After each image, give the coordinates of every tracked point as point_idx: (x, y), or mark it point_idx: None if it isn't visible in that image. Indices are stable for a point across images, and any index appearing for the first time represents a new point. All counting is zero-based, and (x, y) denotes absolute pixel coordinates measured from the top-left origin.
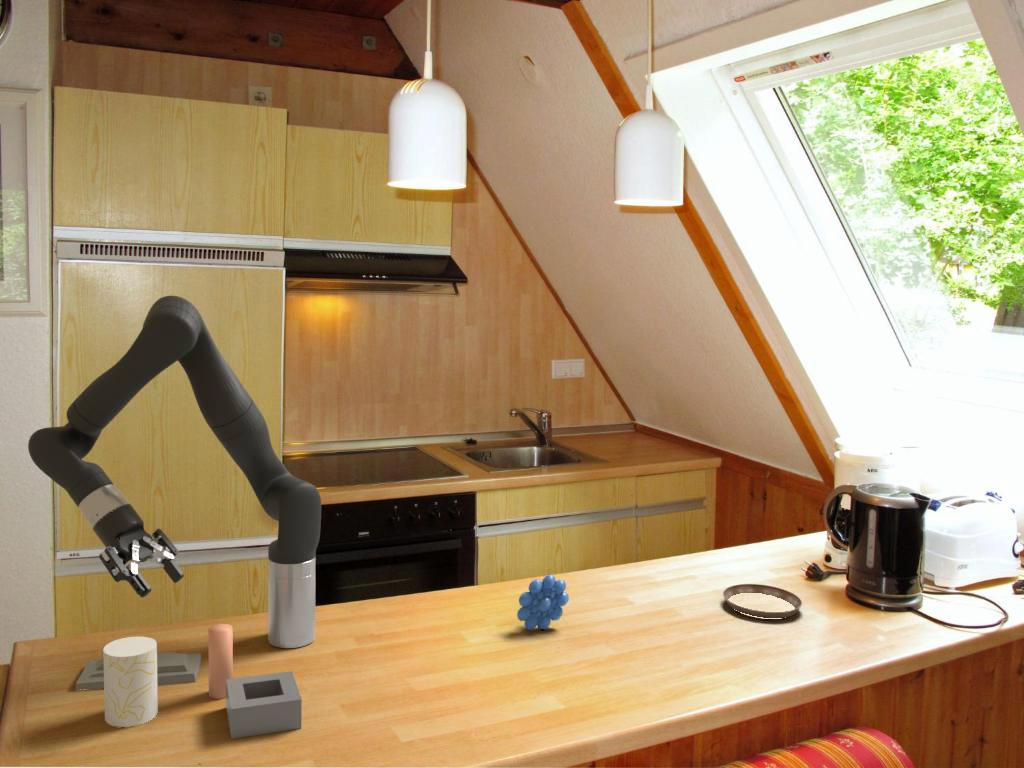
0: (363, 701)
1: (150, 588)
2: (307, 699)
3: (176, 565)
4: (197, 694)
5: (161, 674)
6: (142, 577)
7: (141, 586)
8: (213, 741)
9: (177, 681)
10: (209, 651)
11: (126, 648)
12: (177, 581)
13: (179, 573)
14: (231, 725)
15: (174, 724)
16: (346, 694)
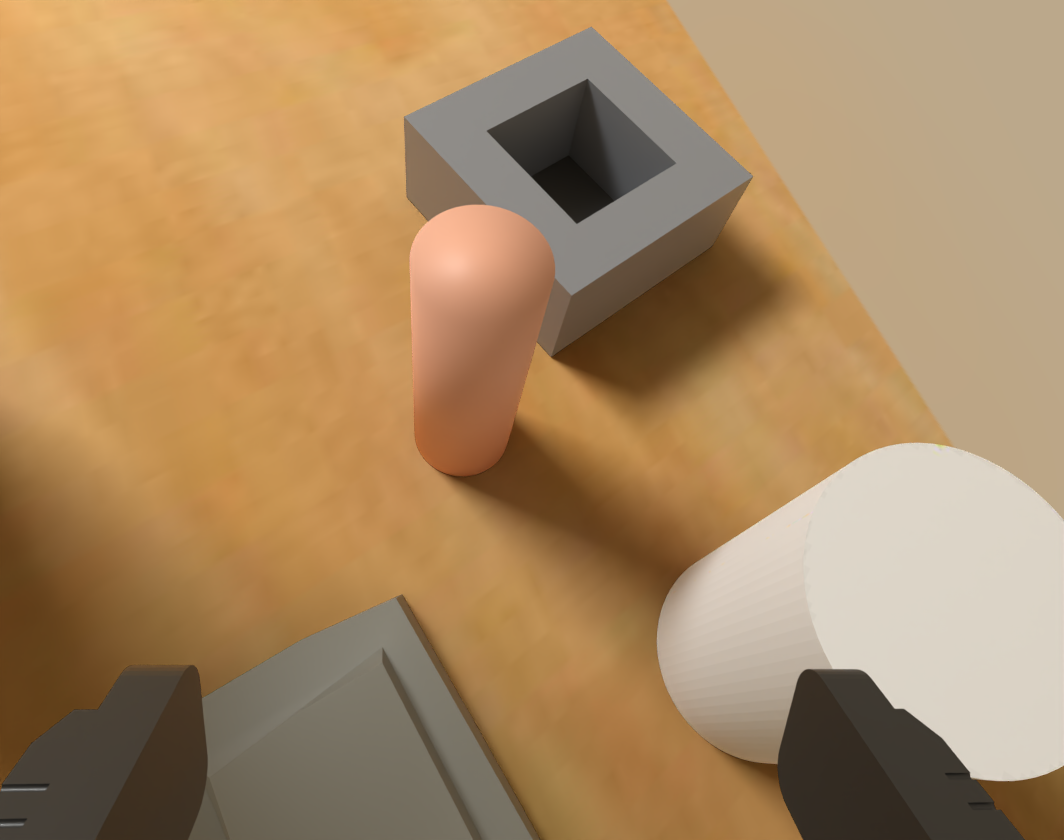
0: (352, 20)
1: (825, 672)
2: (395, 154)
3: (32, 823)
4: (501, 514)
5: (457, 754)
6: (942, 834)
7: (942, 759)
8: (747, 284)
9: (440, 666)
10: (527, 363)
11: (995, 595)
12: (205, 738)
13: (171, 696)
14: (729, 215)
15: (727, 452)
16: (321, 69)
